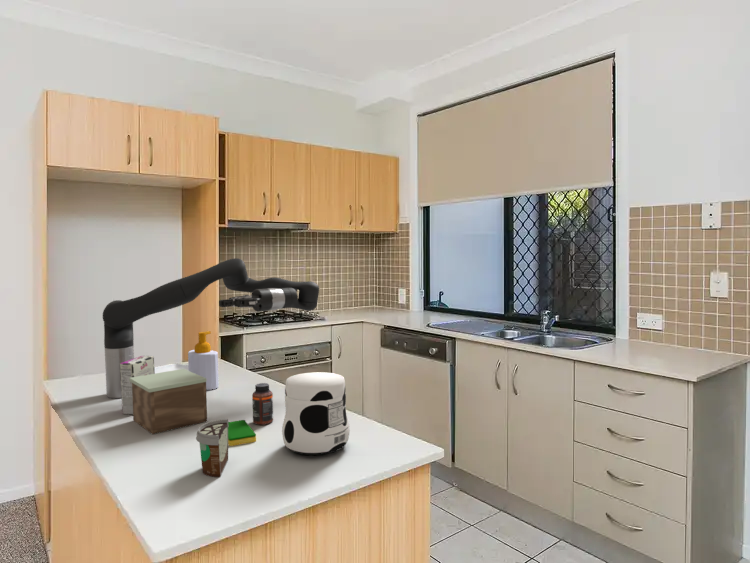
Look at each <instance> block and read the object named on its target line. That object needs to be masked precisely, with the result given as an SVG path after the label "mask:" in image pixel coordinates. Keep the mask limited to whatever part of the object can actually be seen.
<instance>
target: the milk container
mask: <svg viewBox="0 0 750 563" xmlns="http://www.w3.org/2000/svg"><path fill="white" fill-rule="evenodd" d="M284 394H285V395H284V404H285V406H284V407H285V413H284V419H283V423H282V426H281V427H282V430H281V432H282V433H281V434H282V440H283V444H284V446H285V447H286V448H287V450H289V451H291V452H294V453H295V454H298V455H307V456H319V455H328V454H330V453H334V452H337V451H339V450H341V449H342V448H344V447H345V446H346V445H347V443H348V441H349V439H350V438H349V436H350V431H351V430H350V421H349V417H348V415H347V407H346V405H347V404H346V403H347V394H346V380H345V377H344V376H343V375H341V374H338V373H333V372H326V371H325V372H324V371H321V372H320V371H319V372H317V371H315V372H304V373H297V374H295V375H290V376H289V377H287V378H286V379H285V386H284Z"/></svg>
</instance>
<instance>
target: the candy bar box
mask: <svg viewBox="0 0 750 563" xmlns="http://www.w3.org/2000/svg"><path fill="white" fill-rule="evenodd" d="M154 367H155V357H154V355H153V356H152V355H140V356H138V357H134V359H131V360H128V361H126V362H123V363H120V377H121V394H122V398H121V406H122V407H121V408H122V415H129V416H130V415H131V416H133V396H132V382H130V381H129V378H132V377H138V376H144V375H150V374H155V371H154Z"/></svg>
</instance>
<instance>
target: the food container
mask: <svg viewBox="0 0 750 563" xmlns="http://www.w3.org/2000/svg"><path fill="white" fill-rule="evenodd" d="M228 422H229V419H228V418H226V419H218V420H217V419H216V420H213V421H209V422H208V421H207V422H205V423H204V424H201V425H200V426H199V427H198V430H197V432H196V437H195V440H196V442H198V443H199V452H200V460H201V468H202V470H201V471H202V473H203V475H206V476H208V477H210V478H211V477H214V478H221V477H222V475H223V473H224V471H225V469H226V466H227V464H228V461H229V445H228V427H229V425H228Z"/></svg>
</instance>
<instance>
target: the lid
mask: <svg viewBox="0 0 750 563" xmlns="http://www.w3.org/2000/svg"><path fill="white" fill-rule="evenodd" d="M129 381H130V382H132V383H133V384H135V385H137V386H139V387H140V388H142V389H144V390H146V391H147V392H155V391H160V390H165V389H171V388H176V387H181V386H187V385H192V384H197V383H203V382H207V379H206V378H204V377H202V376H200V375H197V374H195V373H192V372H190V371H188V370H185V369H180V370H174V371H168V372H162V373H156V374H150V375H144V376H138V377H132V378H129Z"/></svg>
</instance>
